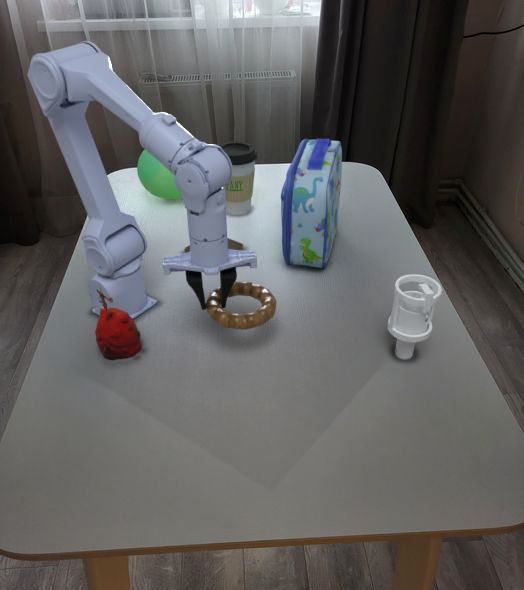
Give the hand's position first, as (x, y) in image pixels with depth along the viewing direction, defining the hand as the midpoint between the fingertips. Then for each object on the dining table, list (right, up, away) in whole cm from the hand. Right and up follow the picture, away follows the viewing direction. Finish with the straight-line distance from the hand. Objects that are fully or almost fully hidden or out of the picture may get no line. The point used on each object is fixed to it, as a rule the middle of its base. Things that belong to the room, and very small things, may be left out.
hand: (213, 305), depth 92 cm
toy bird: (-13, +32, +50) cm, 60 cm away
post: (-2, +14, +29) cm, 32 cm away
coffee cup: (+2, +27, +44) cm, 51 cm away
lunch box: (+19, +16, +31) cm, 40 cm away
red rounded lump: (-16, -8, +4) cm, 18 cm away
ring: (+5, 0, +1) cm, 5 cm away
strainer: (+32, -8, +4) cm, 34 cm away
